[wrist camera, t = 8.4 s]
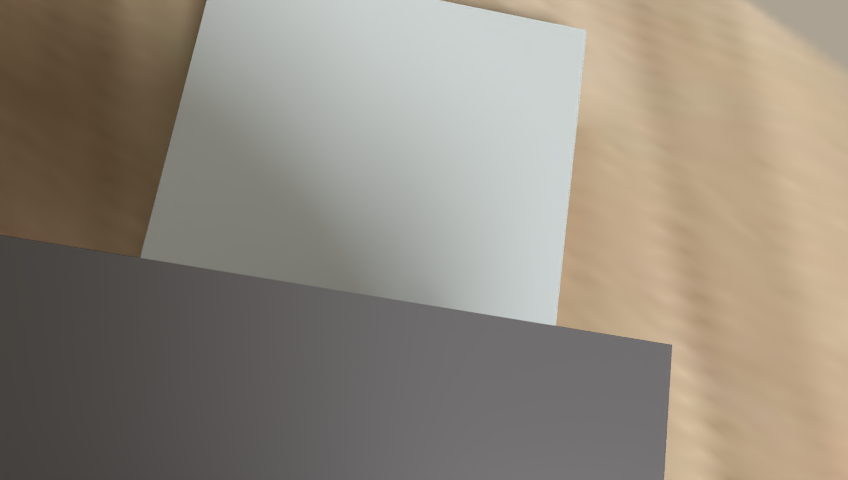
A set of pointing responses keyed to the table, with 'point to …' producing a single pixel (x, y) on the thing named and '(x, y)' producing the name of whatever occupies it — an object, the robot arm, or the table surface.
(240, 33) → the pin dock
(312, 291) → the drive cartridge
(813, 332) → the table surface
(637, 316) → the table surface
